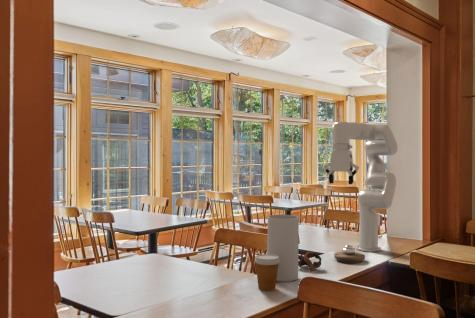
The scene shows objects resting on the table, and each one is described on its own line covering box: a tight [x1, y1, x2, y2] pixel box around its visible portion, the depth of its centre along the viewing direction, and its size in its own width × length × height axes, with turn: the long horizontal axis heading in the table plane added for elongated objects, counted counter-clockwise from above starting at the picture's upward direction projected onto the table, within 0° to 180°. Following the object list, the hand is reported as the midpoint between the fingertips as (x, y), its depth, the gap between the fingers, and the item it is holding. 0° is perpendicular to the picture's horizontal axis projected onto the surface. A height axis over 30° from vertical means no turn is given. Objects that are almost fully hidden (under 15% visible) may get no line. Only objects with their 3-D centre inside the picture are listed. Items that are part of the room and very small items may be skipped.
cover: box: [341, 244, 356, 255], centre depth 222 cm, size 6×6×4 cm
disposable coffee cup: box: [253, 253, 280, 292], centre depth 173 cm, size 10×10×12 cm
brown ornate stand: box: [298, 251, 322, 272], centre depth 203 cm, size 12×10×8 cm
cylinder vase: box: [266, 214, 300, 283], centre depth 187 cm, size 12×12×25 cm
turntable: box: [334, 251, 366, 264], centre depth 219 cm, size 14×14×3 cm
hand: (340, 183), depth 220 cm, fingers open, 9 cm apart
